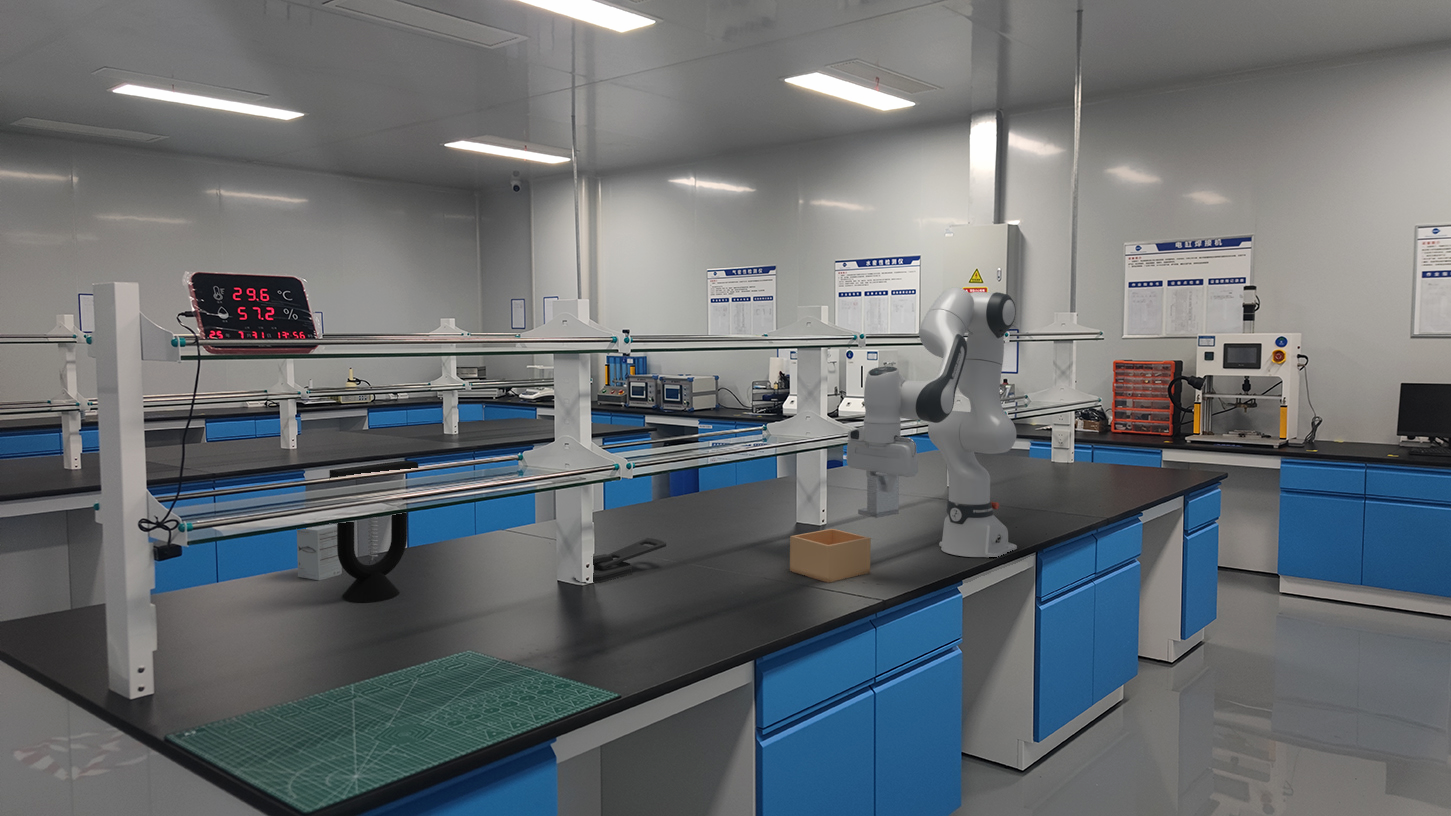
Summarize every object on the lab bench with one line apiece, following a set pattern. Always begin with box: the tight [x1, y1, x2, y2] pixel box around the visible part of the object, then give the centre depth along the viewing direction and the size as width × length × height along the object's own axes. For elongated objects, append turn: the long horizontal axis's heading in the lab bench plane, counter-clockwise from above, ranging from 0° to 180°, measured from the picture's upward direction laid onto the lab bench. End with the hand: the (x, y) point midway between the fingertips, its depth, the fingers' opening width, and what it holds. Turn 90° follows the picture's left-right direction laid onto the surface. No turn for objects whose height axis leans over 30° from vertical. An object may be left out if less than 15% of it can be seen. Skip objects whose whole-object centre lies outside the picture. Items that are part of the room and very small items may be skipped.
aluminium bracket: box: [857, 472, 900, 519], centre depth 220 cm, size 8×6×10 cm
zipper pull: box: [593, 537, 667, 584], centre depth 226 cm, size 9×7×25 cm
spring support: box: [328, 459, 419, 603], centre depth 206 cm, size 21×12×30 cm, turn 147°
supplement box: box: [296, 523, 343, 582], centre depth 221 cm, size 7×7×13 cm
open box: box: [789, 528, 872, 584], centre depth 227 cm, size 15×14×9 cm
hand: (881, 490), depth 218 cm, fingers closed on aluminium bracket, 3 cm apart
